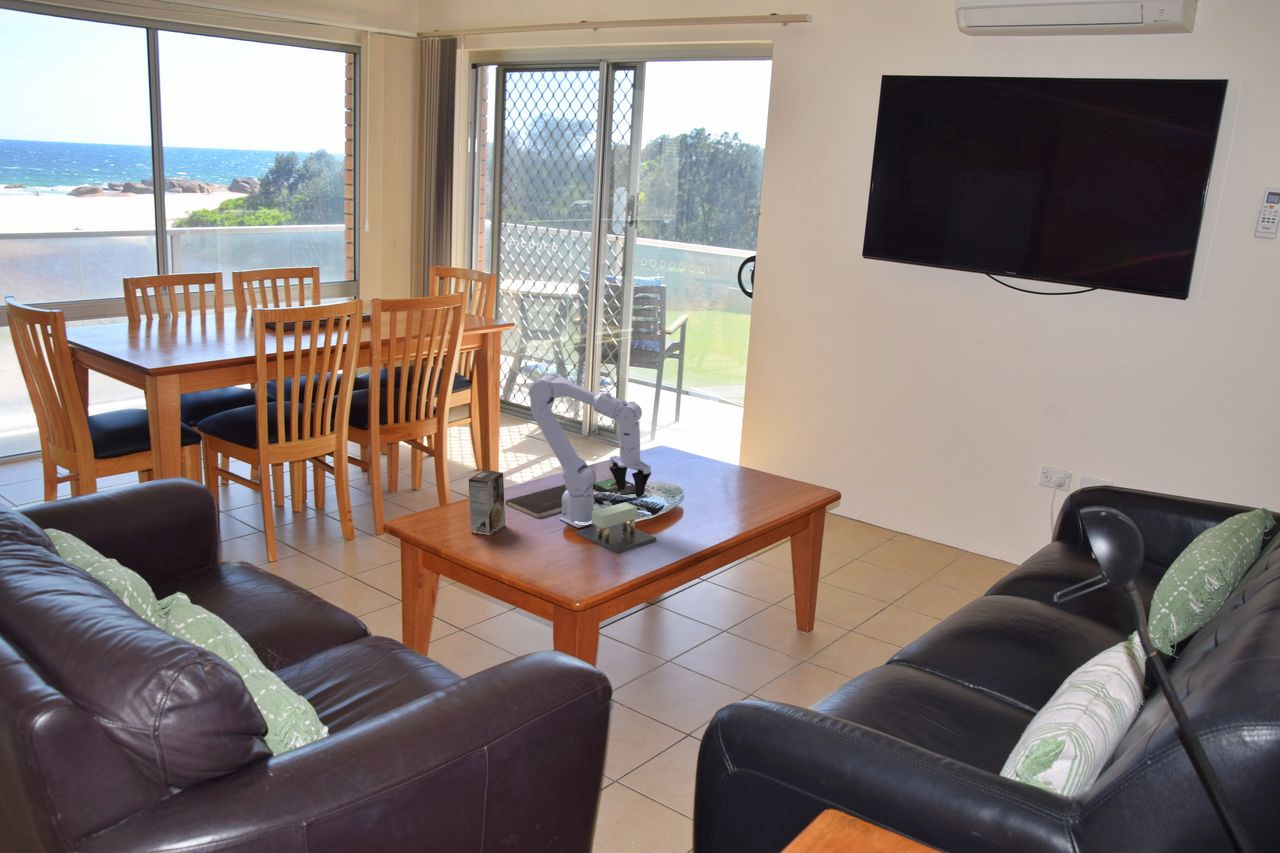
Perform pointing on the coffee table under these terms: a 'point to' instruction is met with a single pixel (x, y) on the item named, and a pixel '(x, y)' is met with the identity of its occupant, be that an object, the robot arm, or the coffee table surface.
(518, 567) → the coffee table surface
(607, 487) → the disk drive
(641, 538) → the plate
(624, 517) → the pale green block
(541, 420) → the robot arm
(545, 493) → the hardcover book
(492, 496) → the coffee box
